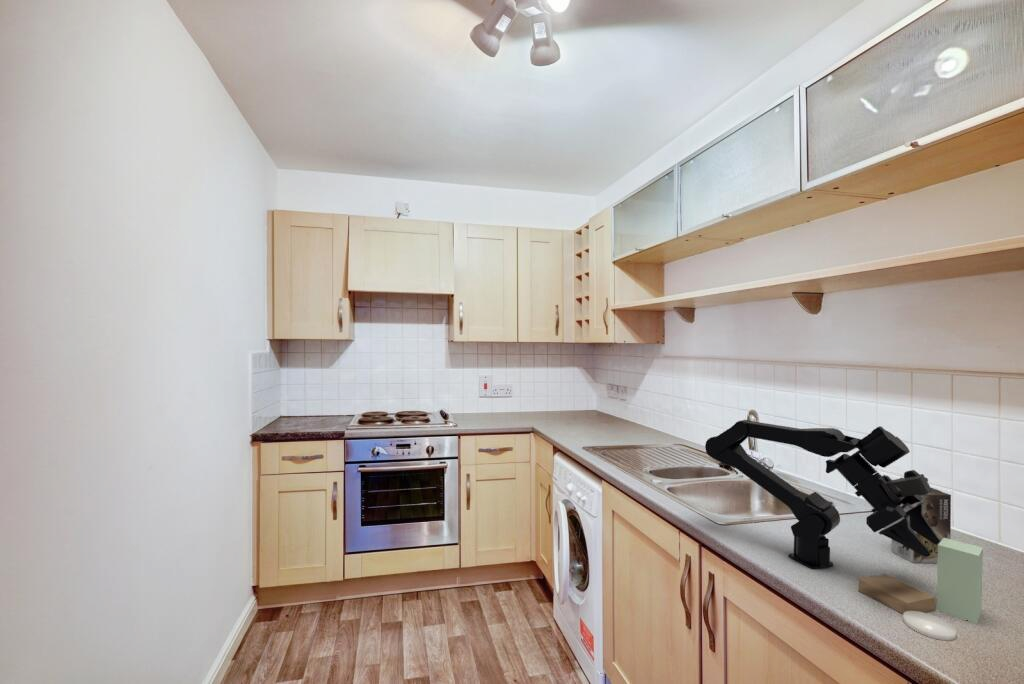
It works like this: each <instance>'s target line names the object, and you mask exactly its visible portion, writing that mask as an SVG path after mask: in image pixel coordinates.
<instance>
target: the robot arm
mask: <svg viewBox="0 0 1024 684" xmlns="http://www.w3.org/2000/svg"><path fill="white" fill-rule="evenodd" d="M748 438H753V439H758V440H763V441H770V442H774V443H780V444H786V445H791V446H795V447H797V448H801V449H802V450H805V451H807V452H809V453H812V454H815V455H818V456H821V457H825V458H829V457H830V459H827V460H826V461H825V465H826V467H825V473H826V474H830V473H832V472H834V471H836V470H837V471H838V472H839V474H840V475H841V476H842V477H844V478H845V480H846V481H847V482H848V483H849V484H850V486H852V487H853V488H854V489H855V490H856V491H855V492H854V494H855V495H856V496H857V497H858V498H860V497H863V499H865V501H866V502H867V503H868V504H869V505H870V506H871V507H872V509H871V513H870V514H869V515H868V516H866V520H865V522H866V525H867V526H868V528H869V529H871V531H872V532H873V533H876V532H878V534H879V535H880V536H881V535H883V536H884V537H887V538H888V539H891V541H892V540H894V541H896V542H898V543H900V544H902V545H904V546H906V547H908V548H910V549H911V550H913V551H915V552H917V553H919V554H921V555H922V556H924V557H927V556H930V555H931V553H930V552H929V551H928V549H927V548H926V546H925V545H924V544H923V543H922V541H921V540H920V539H919V537H918V536H917V535H916V534H915V532H917V533H918V534H920V535H921V536H923V537H924V538H926V539H927V540H929V541H931V542H932V543H934V544H938V543H940V540H939V538H938V537H937V535H936V534H935V532H934V530H933V529H932V527H931V526H930V524H929V522H928V521H927V519H926V518H925V516H924V514H923V508H924V502H922V503H920V504H918V505H917V504H916V502H920V501H921V500H923V498H922V497H921V496H920V495H925V494H928V493H929V491H932V489H931V488H932V487H931V486H930V484H929V483H928V482H929V478H927V477H926V476H925V475H924V474H923V473H922V474H920V473H919V472H917V471H916V469H915V470H914V469H912V470H906V471H905V472H904V473H903V477H900V478H896V479H892V478H890V476H889V475H886V474H881V473H880V472H878V470H877V469H876V468H874V467H878V466H879V467H881V468H887V467H888V466H889V465H891V464H893V463H895V462H896V461H898V460H900V459H901V458H903V457H904V456H907V454H909V453H910V449H909V447H908V446H907V444H906V443H905V442H904V441H903V440H901V439H900V438H899V437H898V436H895V435H894V434H892V433H891V432H889V431H888V430H886V429H884V427H882V426H880V425H879V426H877V427H875V428H874V429H873V430H872V431H871V432H870V433H869V434H867V435H865V436H864V437H863V438H857V437H853V436H849V435H845V434H844V433H843V432H842V431H841V430H839V429H838V428H835V427H816V428H814V427H813V428H812V427H809V428H797V427H792V426H791V427H790V426H786V425H779V424H773V423H772V424H771V423H766V422H759V421H753V420H750V419H742V420H738V421H736V422H734V424H733V425H732V426H730V427H729V428H728V429H725V430H724V431H723V432H721V433H719V434H718V435H716V436H711V437H710V438H708V439H706V441H705V445H704V448H705V453H706V454H707V456H709V458H711V459H713V460H715V461H717V462H719V463H720V464H723V465H726V466H729V467H732V468H735V469H736V470H738V471H739V472H740V473H742V474H743V475H745V476H746V477H747V478H749V480H751V481H753V482H754V483H756V484H757V485H758V486H760V488H762V489H764V490H765V491H766V492H767V493H769V494H770V495H772V496H773V497H775V498H776V499H777V500H778V501H779V502H781V503H782V504H784V505H785V506H787V508H788V509H789V510H790V511H791V513H792V514H793V516H794V517H795V519H796V520H798V521H796V522H794V524H792V525H791V526H790V530H791V532H792V535H793V552H792V553H788V557H789V558H790V559H792V560H795V561H797V562H798V563H800V564H803V565H804V566H806V567H807V568H810V569H812V570H813V569H820V568H828V567H832V566H834V563H833V562H832V561H831V547H830V546H829V544H830V539H829V538H827V536H826V535H827V534H829V533H830V532H832V531H833V530H834V529H836V528H837V527H838V526H839V525H840V522H841V516H840V513H839V511H838V509H837V508H836V507H835V506H833V504H834V503H833V502H832V501H829V500H827V499H825V498H824V497H823V496H822V495H821V494H819V493H818V492H816V491H814V492H812V493H810V494H806V493H804V492H801V491H800V490H798V489H797V488H796V487H794V486H793V485H791V484H790V483H789V482H787V481H785V479H783V478H781V477H780V476H779V475H777V474H776V473H775V472H773V471H771V470H770V469H769V468H767V467H766V466H764V465H763V464H762V463H760V462H759V461H757V460H756V459H754V458H753V457H751V456H750V455H749V454H748V453H747V451H746V450H745V448H744V447H743V445H742V444H743V443H744V442H745V441H746V440H747V439H748ZM856 449H857V451H855V452H854V453H853V454H851V455H850V454H847V453H849V452H851V451H853V450H856ZM840 453H843V454H842V455H839V456H838V457H837V458H836V459H835V458H834V459H831V457H834V456H836V455H838V454H840ZM873 466H874V467H873ZM930 487H931V488H930ZM914 531H915V532H914Z"/></svg>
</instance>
